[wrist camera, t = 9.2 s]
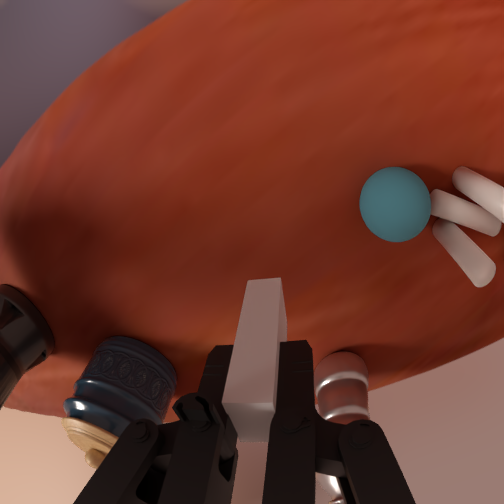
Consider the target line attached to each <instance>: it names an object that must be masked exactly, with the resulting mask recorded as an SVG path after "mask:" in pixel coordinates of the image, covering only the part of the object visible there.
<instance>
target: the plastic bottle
mask: <svg viewBox="0 0 504 504" xmlns="http://www.w3.org/2000/svg"><path fill="white" fill-rule="evenodd" d="M314 389H315V393H316V396H317V399H318V406H319V414H320V416H321V417H322V418H324V419H326V420H327V421H331V422H334V423H339V424H345V425H347V424H348V423H350V422H352V421H354V420H360V419H365V420H370V415H369V407H368V369H367V367H366V365H365V362H364V361H363V359H362V358H361V357H359V356H358V355H356V354H354V353H352V352H336V353H333V354H330V355H328V356H327V357H325V358H324V359H322V361H321V362H320V363H319V364H318V365H317V367H316V369H315V373H314ZM316 480H317V482H318V483H319V485H320V486H321V487H322V488H323V489H324V491H325V492H327V493H328V494H329V495H330V496H331V499H332V501H330V502H329V504H345V503H344V500H343V497H342V494H341V491H340V488H339V485H338V482H337V479H336V477H334V476H330V475H325V474H320V473H316Z"/></svg>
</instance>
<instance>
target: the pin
mask: <svg viewBox="0 0 504 504" xmlns="http://www.w3.org/2000/svg"><path fill="white" fill-rule="evenodd" d="M452 183H453V185H454V187H455V188H456V189H457V190H459V191H460V192H462V193H463V194H465V195H466V196H468V197H469V198H470V199H472V200H473V201H475V202H476V203H478V204H479V205H480V206H482V207H483V208H484V209H486V210H487V211H489V212H490V213H491V214H493V215H494V216H495V217H496V218H498V219H499V220H500V221H502V222H503V223H504V187H502V186H500V185H498V184H497V183H495V182H493V181H491V180H489V179H488V178H486V177H484V176H482V175H480V174H478V173H476V172H474V171H473V170H471V169H469V168H467V167H464V166H460V167H458V168H457V169H456V170H455V171H454V173H453V175H452Z"/></svg>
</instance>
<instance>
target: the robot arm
mask: <svg viewBox="0 0 504 504" xmlns="http://www.w3.org/2000/svg"><path fill="white" fill-rule="evenodd" d="M53 349H54V338H53V335H52V333H51V330H50V328H49V326H48V325H47V323H46V321H45V320H44V318H43V317H42V315H41V314H40V313H39V311H38V310H37V309H36V308H35V306H34V305H33V304H32V303H31V302H30V301H29V300H28V299H27V298H26V297H25V296H24V295H22V294H21V293H20V292H19V291H17V290H16V289H14V288H12V287H10V286H8V285H0V410H1V408H2V406H3V405H4V403H5V402H6V400H7V398H8V397H9V395H10V394H11V392H12V391H13V389H14V387H15V386H16V384H17V383H18V381H19V380H20V378H21V377H22V376H23V374H25V373H26V372H28V371H29V370H31V369H32V368H34V367H35V366H37V365H38V364H40V363H41V362H43V361H44V360H46V359H47V358H48V356H49V355H50V354H51V352H52V351H53ZM172 408H173V410H174V411H175V413H176V414H177V416H178V417H179V419H180V420H179V421H175V422H171V423H165V424H160V425H156V423H154V422H153V421H152V420H150V419H145V418H142V419H137V420H135V421H133V422H131V423H130V424H129V425H128V426H127V427H126V428H125V430H124V431H123V433H122V434H121V435H120V437H119V438H118V440H117V441H116V443H115V444H114V446H113V447H112V448H111V450H110V451H109V453H108V454H107V456H106V457H105V458H104V460H103V461H102V463H101V464H100V466H99V467H98V468H97V470H96V471H95V473H94V475H93V476H92V477H91V479H90V480H89V481H88V483H87V484H86V486H85V487H84V489H83V490H82V492H81V493H80V494H79V496H78V497H77V499H76V500H75V502H74V503H73V504H231V499H232V492H233V486H234V480H235V474H236V467H237V460H238V450H237V448H236V442H237V436H238V438H239V440H240V442H268V453H267V462H266V473H265V481H264V490H263V499H262V504H315V483H316V482H315V481H316V480H315V479H316V473H320V474H325V475H330V476H334V477H336V479H337V482H338V485H339V488H340V491H341V494H342V497H343V500H344V503H345V504H416V503H415V501H414V498H413V496H412V494H411V492H410V489H409V487H408V485H407V482H406V480H405V478H404V476H403V473H402V471H401V469H400V467H399V465H398V462H397V460H396V458H395V456H394V454H393V452H392V449H391V447H390V445H389V443H388V441H387V439H386V436H385V435H384V432H383V430H382V429H381V428H380V426H379V425H378V424H377V423H375V422H373V421H371V420H365V419H360V420H354V421H352V422H350V423H348V424H347V425H345V424H339V423H334V422H331V421H327V420H326V419H324V418H322V417H321V416H320V415H319V414H318V413H317V410H316V409H315V396H314V371H313V354H312V348H311V347H310V345H309V344H308V342H307V340H299V341H287V318H286V311H285V304H284V297H283V290H282V283H281V278H270V279H259V280H248V282H247V286H246V291H245V296H244V300H243V305H242V310H241V314H240V319H239V324H238V329H237V333H236V338H235V343H234V345H216V346H215V347H214V349H213V350H212V351H211V352H210V353H209V355H208V358H207V361H206V365H205V368H204V372H203V376H202V379H201V382H200V386H199V389H198V392H197V393H189V394H187V395H184V396H182V397H181V398H179V399H178V400H177V401H176V402H175V404H174V405H173V407H172Z"/></svg>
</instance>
